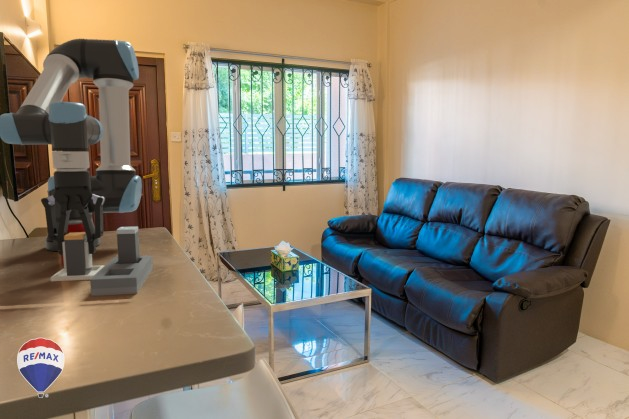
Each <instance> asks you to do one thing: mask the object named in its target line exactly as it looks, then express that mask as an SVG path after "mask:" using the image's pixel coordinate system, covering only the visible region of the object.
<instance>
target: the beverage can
mask: <svg viewBox="0 0 629 419" xmlns="http://www.w3.org/2000/svg"><path fill="white" fill-rule="evenodd" d="M75 232H85V230H84V226H83V223H82V220H69V223H68V229H67V234H69V233H75ZM60 258H61V266H63V267H64V259H63V255H60Z"/></svg>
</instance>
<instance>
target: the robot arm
mask: <svg viewBox="0 0 629 419" xmlns="http://www.w3.org/2000/svg"><path fill="white" fill-rule="evenodd" d="M42 67H43V70H41V73H40V74H39V76H38V77H37V79H36V81H35V83H34V84H33V85H32V88H31V89H30V91H29V92H28V94H27V96H25V99H24V100H23V102H22V103H21V105H20V107H19V108H18V110H17V111H16V113H15V112H9V113H3V114H0V139H1V141H3V142H4V143H6V144H9V145H10V144H11V145H21V146H25V145H27V146H28V145H29V146H30V145H38V146H39V145H51V157H52V168H53V169H54V170H55V171H54V172H53V175H52V176H50V177H48V180H47V191H46V193H47V196H45V197H43V198H41V200H40V202H41V203H42V206H43V207H44V212H45V220H46V230H47V234H46V238H45V242H44V244H45V250H47V251H52V252H58V254H59V255H60V256H61V255H63V259H64V266H63V268H64V269H67V268H66V254H65V241H64V236H65V235H67V229H68V223H69V220H82V223H83V226H84V230H85V233H86V237H87V240H86V241H85V242H84V248H85V263H86V268H90V267H91V266H94V265H93V264H94V263H93V254H94V255H95V254H96V251H97V249H96V248H97V247H98V246H99V245H100V244H101V240H100V238H101V237H103V235H104V213H105V214H107V213H108V214H109V213H110V214H112V213H119V214H122V213H131V212H134V211H136V210H137V209H138V207H139V205H140V202H141V197H142V189H143V184H142V180H143V179H142V178H141V177H142V176H139V175H137V174H136V173H137V172H136V169H135V168H134V167H133V166H132V164H131V143H130V142H131V140H130V137H131V136H130V132H131V131H130V104H129V103H130V100H129V99H130V98H129V97H130V96H129V92H130V90H131V89H132V88H133V87H134V81H137V80H139V78H140V76H139V75H140V72H139V71H140V70H139V69H140V68H139V63H138V59H137V55H136V52H135V50H134V47H133V45H132V44H131V43H130V42H129V41H125V40H117V39H95V38H94V39H93V38H74V39H70V40H68V41H65V42H63V43H60V44H59V45H58V46H56V47H55V48H54V49H51V51H50V52H49V53H48V54H47V56H46V57H45V58H44V60H43V62H42ZM78 79H93V81H92V82H93V84H94V85H95V86H96V87H97V88H98V103H99V104H98V105H99V107H98V108H99V110H98V112H99V120H98V119H97V118H95V117H93V116H91V115H90V114H87V109H86V106H85V104H83V103H81V102H74V101H72V102H71V101H63V100H64V98H65V97H66V94H67V92H68V90H69V88H71V85H72V84H75V83H76V82H77V81H78ZM99 142H100V165H99V166H98V167H97V168H95V175H91V172H90V170H88V169H90V166H91V165H90V164H91V163H90V152H89V146H92V145H95V144H97V143H99ZM93 213H94V221H93Z"/></svg>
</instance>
